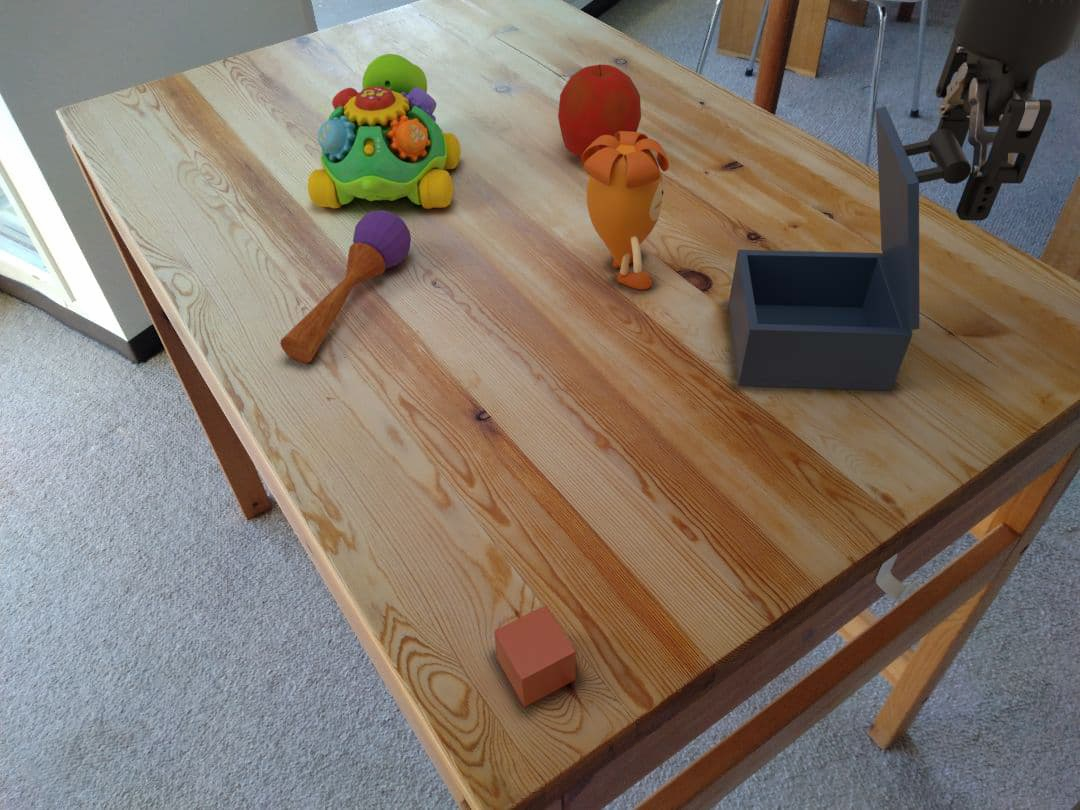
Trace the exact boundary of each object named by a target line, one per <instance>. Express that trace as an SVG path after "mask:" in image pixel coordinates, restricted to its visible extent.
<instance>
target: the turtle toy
mask: <svg viewBox="0 0 1080 810" xmlns="http://www.w3.org/2000/svg"><path fill="white" fill-rule="evenodd" d="M361 86H362V89H361V91H359V92H358V91H357V89H355V88H353V87H345V88H344V89H342V90H340V91H339V92H337V93H336V94H335V95H334V97H333V98H332V101H331V104H332V107H333V109H334V110H333V111H332V112H331V114H329V117H328V120H325V121H324V122H323V123H322V124H321V125H320V127H319V129H318V133H317V140H318V144H319V146H320V147H321V156H320V162H321V165H322V168H319V169H314V170H313V171H312V172H311V173H310V174H309V177H308V180H307V181H308V182H307V191H308V196H309V199H310V201H311V202H312V204H314V205H315V206H316V207H318V208H319V207H321V208H331V209H339V208H341V207H342V206H344V205H348V204H350V203H351V202H352V201H353V200H354V199H355V198H358V199H363V200H366V201H368V202H369V201H370V202H373V201H387V200H388V201H396V200H398V199H400V198H404V197H407V198H408V199H409V200H410V201H411V202H412V203H413V204H415V205H418V206H422V208H424V209H427V210H431V209H433V208H438V209H440V208H447V207H448V206H449V205H451V203H452V199H453V198H454V197H453V196H454V191H455V186H454V183H453V179H452V176H451V175H450V173H449V172H448V171H447V170H453V169H455V168H457V166H458V165H459V161H460V158H461V152H462V151H461V150H462V149H461V146H460V142H459V139H458V137H457V136H456V135H455V134H453V133H449V132H443V129H441V127H440V125H439V124H438V123H437V122H436V121H437V118H436V115H434V112H435V110H436V108H437V101H436V100H435V99H434V98H433V97H432V96H431V95H430V93H427V92H428V80H427V76H426V73H425V72H424V71H423V69H422V68H421V67H420V66H418V65H416V64H414V63H412V62H411V61H410V60H409V59H407V58H405V57H404V56H403V55H399V54H395V53H385V54H381V55H380V56H377V57H376V58H374V59H373V60H372V61H371V62H370V63H369V64H368V66H367V67H366V69H365V71H364V73H363V76H362V83H361Z"/></svg>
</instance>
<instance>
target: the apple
mask: <svg viewBox="0 0 1080 810" xmlns="http://www.w3.org/2000/svg"><path fill="white" fill-rule="evenodd" d="M558 103H559V104H558V113H557V118H558V124H559V128H560V133H561V138H562V142H563V144H564V147H565V149H567V150H568V151H569V152H570V153H571V154H572V155H573V156H575V157H577V158H578V159H580V160H581V157H582V155H583V153H584V151H585V150H586V149H587V148H588V147H589V146H590V145H591V143H593V142H594V141H595V140H596V139H597V138H599V137H600V136H603V135H611V136H613V137H614V136H615V134H616V133H617V132H619V131H630V132H638V129H639V126H640V122H641V119H642V106H641V95H640V92H639V90H638V88H637V86H636V85H635V84H634V82H633V80H632V79H631V77H630V76H629V75H627V73H625V72H623V71H622V70H621V69H619V68H618V67H616V66H613V65H610V64H594V65H589V66H585V67H583V68H580V69H579V70H578V71H576V72H575V73H574V74H572V75H571V76H570V77H569V78H568V80H567V82H566V84H565V85H564V86H563V88H562V91H561V93H560V95H559V101H558ZM606 147H607V146H606V145H599V150H601V149H603V148H606Z"/></svg>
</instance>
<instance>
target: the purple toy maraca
mask: <svg viewBox="0 0 1080 810" xmlns="http://www.w3.org/2000/svg"><path fill="white" fill-rule="evenodd" d="M411 243H412V235H411V232H410V229H409V228H408V226H407V223H405V221H404V220H403V219H402V218H401V216H399V215H397V214H395V213H393V212H390V211H386V210H382V209H381V210H375V211H372V212H368V213H366V214H365V215H364V216H363V217H362V218H361V219H360V220H359V221H358V222H357V224H356V225H355V227H354V233H353V237H352V243H351V245H350V246H349V249H348V256H347V264H346V273H345V278H344V279H343V280H342V281H340V282H339V283H338V284H337V285H336V286H335V287H334V288H333V289H332V290H331V291H330V292H329V293H328V294H326V296H325V297H324V298H323V299H322V300H320V302H318V303H317V304H316V306H314V307H313V308H312V310H311V311H309V312H308V314H306V315H305V316H304V317H303V318H302V319H301V320H300V321H299V322H298V323H297V324H296V325H294V327H293V328H291V330H289V332H288V333H287V334H285V335H284V336H283V338H281V339H280V343H279V344H280V347H281V349H282V351H284V353H285V354H286V355H287V356H288V357H290V358H291V359H292V360H295V361H296V362H299V363H302V364H308V363H311V362H312V360H313V358H314V357H315V355H316V353H317V351H318V349H319V348H320V346H321V345H322V343H323V341H324V339H325V337H326V336H327V334H328V332H329V331H330V329H331V327H332V325H333V323H334V321H335V320H336V318H337V317H338V314H339V313H340V311H341V309H342V308H343V306H344V304H345V302H346V300H347V298H348V297H349V295H350V293H352V290H353V288H354V287H355V285H357V284H359V283H362V282H364V281H367V280H369V279H373V278H375V277H378V276H380V275H382V274H383V273H384V272H385V271H386V269H390V268H393V267H396V266H397V265H399V264H400V263H402V262H403V261H404V260H405V258H406V257H407V256H408V254H409V251H410V248H411Z"/></svg>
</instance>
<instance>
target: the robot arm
mask: <svg viewBox="0 0 1080 810" xmlns="http://www.w3.org/2000/svg"><path fill="white" fill-rule="evenodd" d="M1079 28H1080V0H963V2H962V5H961V9H960V11H959V14H958V18H957V21H956V23H955V26H954V37H953V39H952V43H951V46H950V49H949V52H948V54H947V57H946V60H945V63H944V66H943V69H942V71H941V74H940V78H939V80H938V83H937V86H936V89H935V96H936V98H937V99H942V100H941V102H940V103H939V106H938V113H939V115H940V116H941V117H940V119H939V123H938V125H937V128H936V131H937V130H939V129H949V130H951V131H952V132H953V134H954V135H955V137H956V139H957V141H958V143H959V145H960V147H961V149H962V150H963V146H964V143H965V140H966V138H967V142H968V143H969V145H971V146H972V147H973V155H972V156H973V157H972V165H971V172H970V174H969V176H968V177H967V181H966V184H965V186H964V189H963V191H962V193H961V197H960V199H959V202H958V205H957V207H956V210H955V213H956V215H957V217H958V219H959V220H961V221H979V222H981V221H984V220H986V219H987V218H988V217H989V216H990V213H991V211H992V208H993V206H994V204H995V201H996V199H997V196H998V194H999V191H1000V189H1001V188H1002V187H1001V186H1002V184H1013V185H1014V184H1015V185H1016V184H1017V185H1020V184H1022V183H1023V182H1024V180H1025V178H1026V176H1027V172H1028V170H1029V167H1030V165H1031V164H1032V161H1033V158H1034V156H1035V155H1034V154H1035V153H1036V150H1037V147H1038V145H1039V142H1040V140H1041V137H1042V135H1043V132H1044V130H1045V128H1046V125H1047V122H1048V120H1049V117H1050V115H1051V112H1052V108H1053V103H1052V100H1051V99H1043V98H1042V99H1041V98H1040V99H1037V98H1035V97H1034V96H1033V94H1034V88H1035V83H1036V78H1037V75H1038V71H1039V70H1040V68H1042V67H1043V66H1045V65H1046V64H1048V63H1051V62H1052V61H1056V60H1058V59H1060V58H1062V57H1063V56H1064V55H1065V54H1067V52H1068V51H1069V50H1070V48H1071V46H1072V44H1073V41H1074V39H1075V37H1076V34H1077V32H1078V29H1079ZM957 72H958V73H957ZM954 74H956V76H955V77H954ZM953 77H954V78H953ZM985 127H986V128H987V127H989V128H993V127H994V128H995V127H996V128H997V131H988V130H986V129H985ZM989 146H991V147H990V150H989ZM988 150H989V152H988ZM1016 154H1017V155H1016ZM928 157H929V159H930V161H931V162H932V163H934V164H936V162H935V160H934V158H933V156H932V154H931V152H928ZM1070 810H1080V799H1079V800H1078V801H1077V802H1076V803H1075V804H1074V805H1073V807H1072V808H1071V809H1070Z"/></svg>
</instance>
